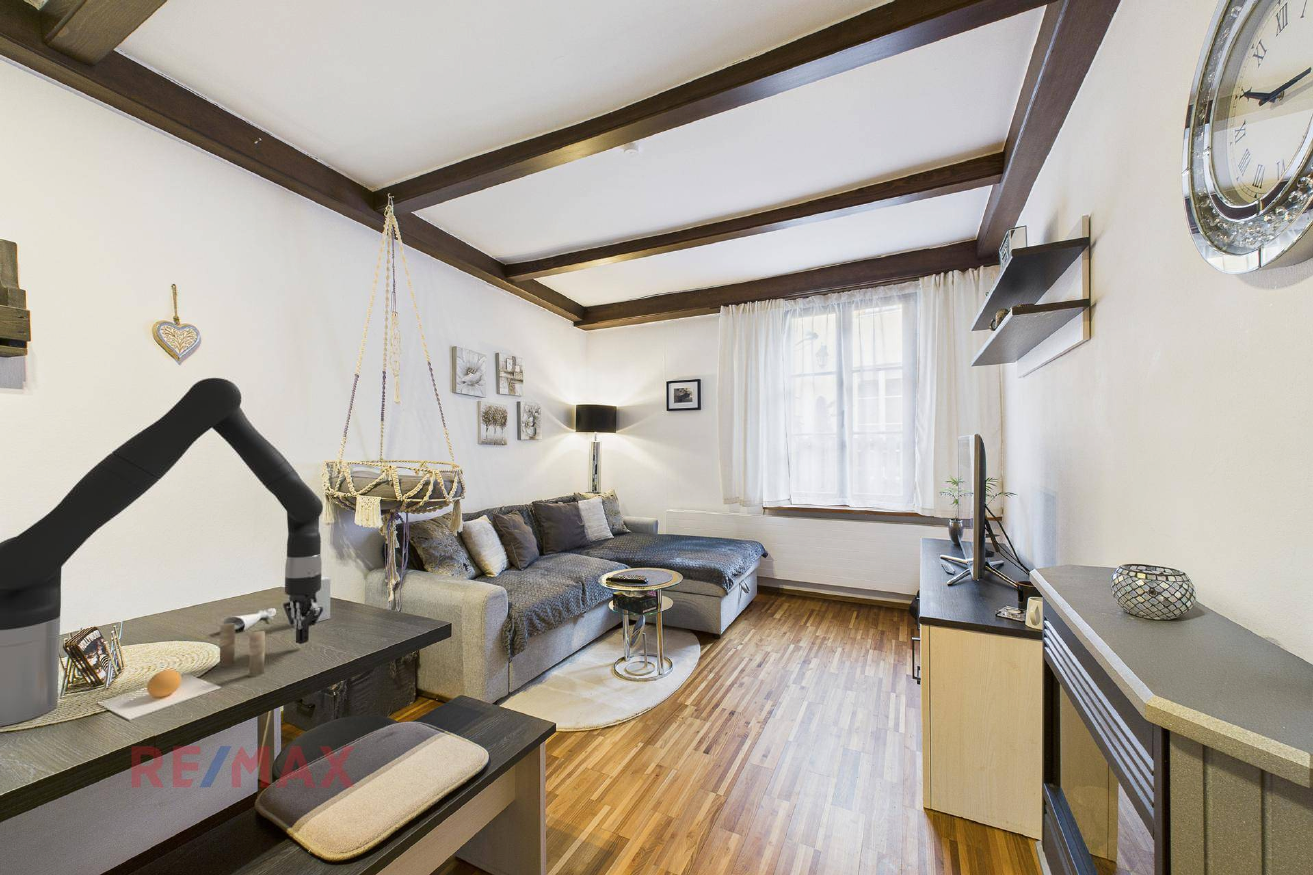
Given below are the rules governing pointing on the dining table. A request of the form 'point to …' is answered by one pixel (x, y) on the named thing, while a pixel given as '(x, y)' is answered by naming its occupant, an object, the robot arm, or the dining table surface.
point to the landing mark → (157, 698)
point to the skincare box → (324, 598)
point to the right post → (257, 653)
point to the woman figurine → (250, 618)
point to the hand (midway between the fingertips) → (302, 642)
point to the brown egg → (164, 683)
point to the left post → (227, 644)
